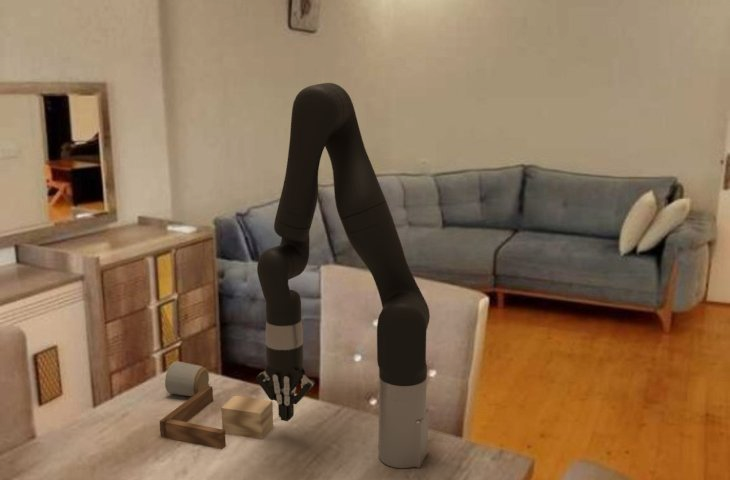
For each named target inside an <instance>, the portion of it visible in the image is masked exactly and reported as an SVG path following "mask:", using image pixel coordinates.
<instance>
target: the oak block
mask: <svg viewBox="0 0 730 480" xmlns="http://www.w3.org/2000/svg"><path fill="white" fill-rule="evenodd" d="M273 405H274V402H273V400H270V399H264V398H263V399H262V398H255V397H249V396H248V397H247V396H240V395H233V396H232V397H231V398H230V399H229V400H228V401H226V403H225V404H224V405H223V406H222V407H221V429H223V430H225V435H226V434H227V435H234V436H238V437H244V438H245V437H246V438H251V439H257V440H263V439H264V437H265V436H266V435H267V434H268V432H269V431H270V430H271V429H272V428H273V427H274V410H273V409H274V408H273Z"/></svg>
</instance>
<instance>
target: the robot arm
mask: <svg viewBox="0 0 730 480" xmlns="http://www.w3.org/2000/svg"><path fill="white" fill-rule="evenodd" d="M356 114H357V113H356V110H355V107H354V103H353V100H352V99H351V97H350V95H349V94H348V92H347V91H346V90H345V89H344V88H343V87H342V86H341V85H338V84H336V83H333V82H324V83H317V84H312V85H309V86H306V87H305V88H303V89H301V90H300V91H299V92H298V93H297V95H296V96H295V97H294V100H293V103H292V109H291V118H290V133H289V135H290V136H289V142H288V143H289V144H288V154H287V161H286V169H285V175H284V180H283V185H282V189H281V194H280V197H279V202H278V206H277V210H276V214H275V218H274V223H273V230H274V232H275V233H276V235H277V236H279V237H280V238H281V239H280V240H281V241H280V243H279V245H277V246H274V247H271V248H268V249H266V250H264V251H263V252H262V253H261V254H260V256H259V258H258V261H257V265H256V267H257V268H256V271H257V277H258V281H259V284H260V288H261V291H262V295H263V297H264V300H265V316H266V317H265V319H266V321H265V322H266V324H265V333H264V334H265V338H264V339H265V359H266V360H265V362H266V363H265V364H266V366H265V368H264V369H265V370H264V371H261V372H260V373H259V374H258V375H257V376H256V377H255V380H256V381H257V383H258V384H259V386H260V387H261V389H262V390H263V392H264V393H265V394H266V396H267V397H268V400H270V401H276V403H277V405H278V407H277V408H278V418H280V420H281V421H282V422H283V421H284V422H289V421H290V420H291V419H292V418H293V417H294V414H295V412H294V411H295V410H294V408H295V407H294V405H297V404H298V403H299V402H300V401H301V400H302V399H303V398H304V397H305V396H306V394H307V393H308V392H309V391H310V390H311V389H312V388H313V386H315V384H316V381H315V379H310V378H308V376H306V371H305V368H304V330H303V324H302V323H303V322H302V299H301V295H300V293H298V291H296V290H294V289H290V286H289V280H291V279H294V278H296V277H298V276H300V275H301V274H302V273H303V272H304V271H305V270H306V267H307V265H308V263H309V258H310V230H311V227H312V224H313V221H314V218H315V217H314V216H315V213H316V208H317V205H318V204H317V202H318V198H319V197H318V196H319V169H320V163H321V158H322V156H323V155H322V154H323V153H324V149H326V153H327V154H328V157H329V160H330V164H331V169H332V174H333V175H332V180H333V190H334V200H335V201H334V202H335V208H336V210H337V211H336V212H337V213H338V216H339V219H340V221H341V225H342V227H343V230H344V232H345V235H346V236H347V239H348V241H349V243H350V244H351V246H352V248H353V250H354V252H356V254H357V255H358V257H359V258H360V260H361V261H362V263H364V264H365V266H366V267H367V269H368V270H369V272H370V273H371V276H372V278H373V281H374V283H375V285H376V288H377V292H378V295H379V299H380V303H381V306H382V309H381V311H380V313H379V315H378V318H377V324H376V356H377V358H376V361H377V366H378V447H377V448H378V459H379V461H381V462H382V463H383V464H385V465H386V466H389V467H392V468H396V469H397V468H398V469H410V468H421V466H422V464H423V462H424V461H425V459H426V457H427V454H428V450H429V449H428V447H429V445H428V443H429V418H430V417H429V409H427V384H428V379H427V377H428V376H427V375H428V364H427V357H426V356H427V330H428V326H429V323H430V318H431V317H430V316H431V315H430V309H429V306H428V303H427V301H426V299H425V297H424V296H423V294H422V292H421V290H420V287H419V286H418V283H417V282H416V280H415V277H414V275H413V273H412V271H411V269H410V267H409V265H408V262H407V259H406V256H405V252H404V250H403V249H404V248H403V246H402V242H401V240H400V237H399V233H398V230H397V228H396V225H395V222H394V218H393V216H392V213H391V210H390V207H389V205H388V203H387V199H386V197H385V195H384V192H383V190H382V188H381V185H380V182H379V180H378V178H377V175H376V174H377V173H376V172H375V170H374V167H373V165H372V162H371V161H370V158H369V155H368V153H367V149H366V148H365V144H364V141H363V138H362V134H361V130H360V126H359V122H358V119H357V115H356ZM300 382H301V383H300ZM299 384H300V388H301V389H300V391H298V393H297V394H296V391H297V386H298V385H299Z"/></svg>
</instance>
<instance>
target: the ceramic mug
mask: <svg viewBox="0 0 730 480" xmlns="http://www.w3.org/2000/svg"><path fill="white" fill-rule="evenodd" d="M209 381H210V375H209V371H208V369H207V368H206V367H204V366H202V365H198V364H192V363H188V362H183V361H178V360H176V361H172V363H171V364H170V365H169V367H168V369H167V371H166V374H165V382H164V385H165V390H166V392H167V393H168V394H171V395H179V396H187V397H192V396H194V395H195V394H196V393H198V392H199V391H200V390H202V389H203V388H204V387H206V386H209Z"/></svg>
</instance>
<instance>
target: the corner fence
mask: <svg viewBox="0 0 730 480" xmlns="http://www.w3.org/2000/svg"><path fill="white" fill-rule="evenodd" d="M213 390H214V389H213V386H211V385H208V386H206V387H204V388H203V389H202V390H200V391H199V392H198V393H196V394H195V395H194V396H190V397H189V398H188V399H187V400H186V401H184V402H182V404H180V405H178V407H176V408H175V409H174V410H172V411H171V412H169V413H168V414H167V415H166V416H164V417H163V418H161V419H160V420H159V431H160V434H159V435H160V437H163V438H167V439H172V440H178V441H182V442H187V443H191V444H196V445H200V446H206V447H210V448H215V449H220V450H222V449H224V448H225V447H226V446H227V443H226V434H225V430H223V429H222V428H216V427H212V426H207V425H201V424H198V423H197V424H196V423H192V422H188V421H189V420H191V419H192V418H193V417H194V416H196V415H197V414H199V412H201V411H202V410H203V409H205V408H206V407H207V406H208V405H209V404H211V403H212V402H213V401H214V393H213V392H214V391H213Z"/></svg>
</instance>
